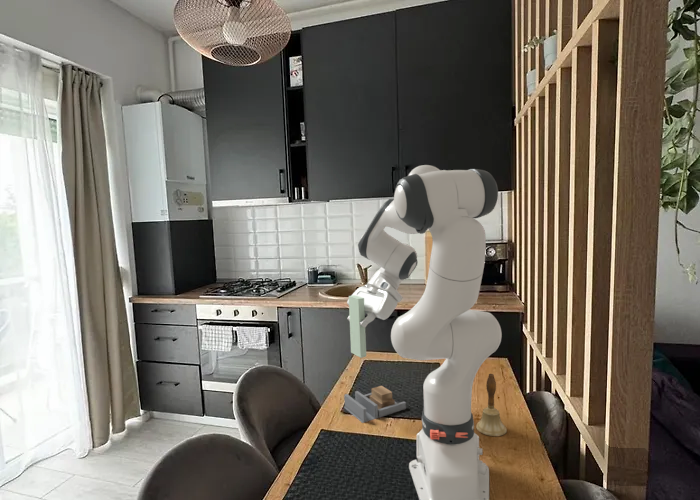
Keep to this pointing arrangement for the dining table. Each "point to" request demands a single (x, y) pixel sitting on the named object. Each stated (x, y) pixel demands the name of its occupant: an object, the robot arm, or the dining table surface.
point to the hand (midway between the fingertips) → (355, 323)
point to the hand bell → (491, 413)
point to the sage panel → (357, 326)
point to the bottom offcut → (382, 405)
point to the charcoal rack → (369, 407)
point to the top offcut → (381, 394)
